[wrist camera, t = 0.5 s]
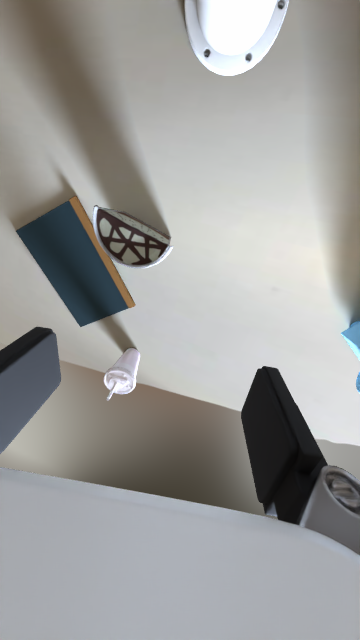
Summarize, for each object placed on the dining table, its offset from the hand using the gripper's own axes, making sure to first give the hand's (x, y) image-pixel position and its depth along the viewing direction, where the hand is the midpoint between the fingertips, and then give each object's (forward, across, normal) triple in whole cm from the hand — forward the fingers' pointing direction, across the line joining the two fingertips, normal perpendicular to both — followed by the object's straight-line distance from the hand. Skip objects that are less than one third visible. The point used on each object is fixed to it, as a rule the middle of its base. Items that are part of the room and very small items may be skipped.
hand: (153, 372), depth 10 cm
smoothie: (+34, +10, +25) cm, 43 cm away
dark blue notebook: (+34, +22, +7) cm, 41 cm away
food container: (+34, +9, -1) cm, 36 cm away
